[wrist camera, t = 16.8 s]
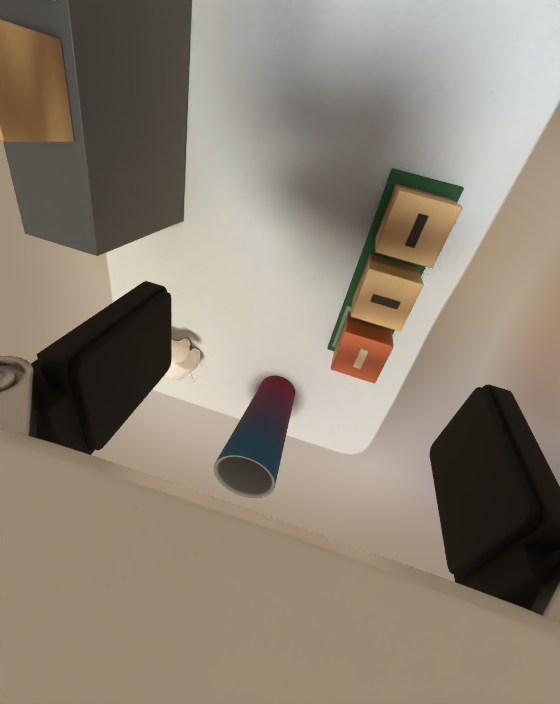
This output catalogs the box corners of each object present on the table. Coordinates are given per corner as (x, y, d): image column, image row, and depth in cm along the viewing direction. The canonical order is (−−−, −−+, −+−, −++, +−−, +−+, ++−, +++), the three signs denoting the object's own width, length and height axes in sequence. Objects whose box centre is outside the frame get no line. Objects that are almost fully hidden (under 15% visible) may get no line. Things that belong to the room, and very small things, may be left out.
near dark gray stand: (118, -58, 26) (-265, -358, 10) (193, -42, 26) (-93, -331, 10) (131, 205, 37) (-43, 251, 22) (183, 220, 37) (43, 278, 21)
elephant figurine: (178, 313, 44) (153, 334, 39) (220, 355, 46) (201, 380, 41) (152, 338, 47) (126, 360, 42) (192, 376, 49) (172, 401, 45)
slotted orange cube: (348, 310, 37) (345, 332, 33) (391, 323, 37) (393, 347, 32) (334, 346, 40) (330, 370, 36) (374, 358, 39) (374, 384, 35)
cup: (248, 395, 49) (206, 480, 36) (265, 362, 45) (223, 445, 32) (289, 415, 49) (261, 506, 37) (309, 384, 45) (284, 475, 33)
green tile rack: (392, 168, 30) (395, 173, 25) (462, 187, 29) (479, 195, 24) (328, 346, 41) (321, 373, 36) (377, 361, 41) (378, 391, 36)
